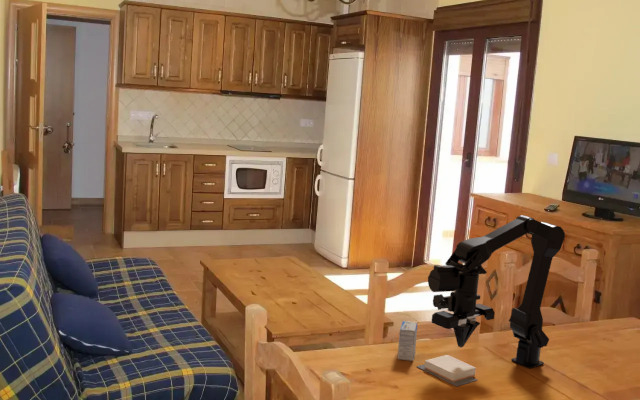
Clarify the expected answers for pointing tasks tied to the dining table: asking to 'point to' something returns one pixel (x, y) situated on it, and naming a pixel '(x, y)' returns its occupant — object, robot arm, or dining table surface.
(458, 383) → the grey mat
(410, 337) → the medicine box
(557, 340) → the dining table surface
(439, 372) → the tile
